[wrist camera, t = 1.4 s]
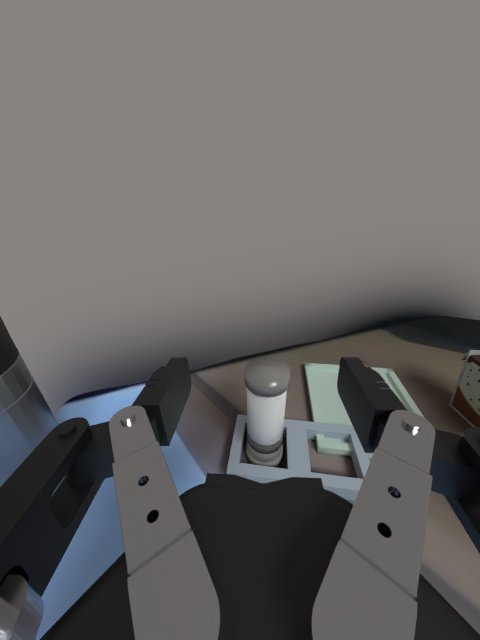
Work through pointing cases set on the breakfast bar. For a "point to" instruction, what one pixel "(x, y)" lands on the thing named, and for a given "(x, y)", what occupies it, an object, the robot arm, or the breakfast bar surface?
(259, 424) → the grey-capped white cylinder
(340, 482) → the fuse block
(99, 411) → the breakfast bar surface
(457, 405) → the food container
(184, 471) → the breakfast bar surface
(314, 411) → the tray
